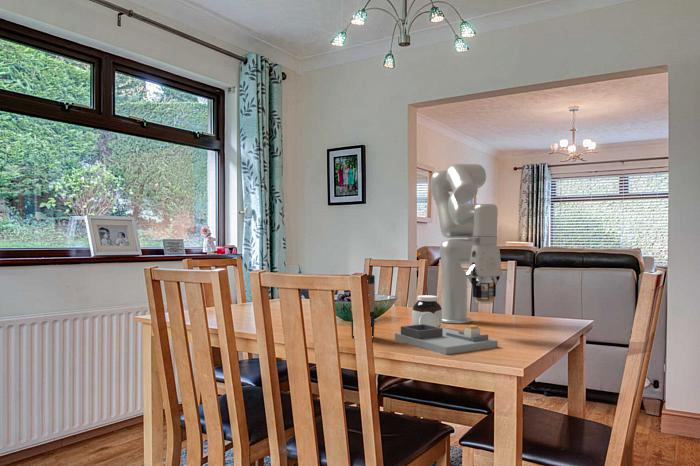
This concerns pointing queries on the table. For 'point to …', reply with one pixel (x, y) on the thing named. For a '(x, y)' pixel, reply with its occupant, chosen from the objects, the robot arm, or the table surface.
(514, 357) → the table surface
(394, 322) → the table surface
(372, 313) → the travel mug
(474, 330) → the toggle
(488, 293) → the pill bottle
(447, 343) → the panel
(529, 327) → the table surface
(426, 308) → the spread jar
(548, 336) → the table surface
